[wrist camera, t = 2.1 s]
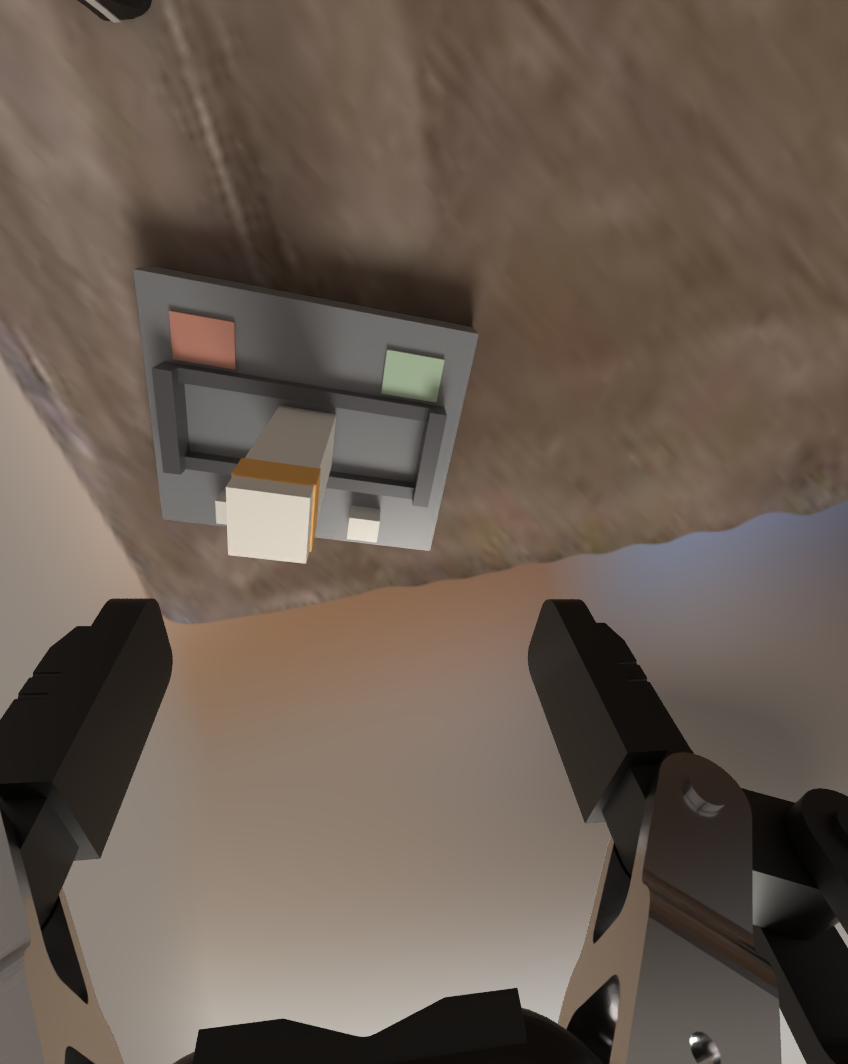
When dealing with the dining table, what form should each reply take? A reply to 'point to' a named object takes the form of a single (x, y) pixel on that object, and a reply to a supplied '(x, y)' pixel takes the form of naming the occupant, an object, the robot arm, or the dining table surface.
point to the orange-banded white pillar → (281, 487)
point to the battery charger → (117, 8)
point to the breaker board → (301, 398)
